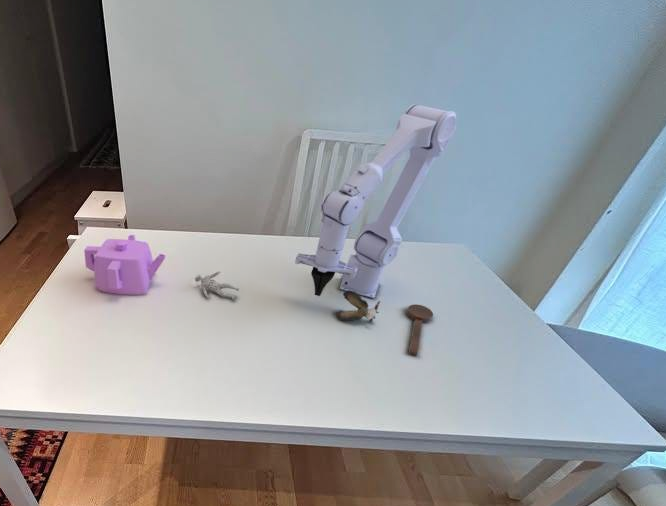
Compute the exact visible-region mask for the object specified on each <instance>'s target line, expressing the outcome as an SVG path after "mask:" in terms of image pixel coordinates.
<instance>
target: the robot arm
mask: <svg viewBox="0 0 666 506" xmlns="http://www.w3.org/2000/svg"><path fill="white" fill-rule="evenodd" d="M456 129H457V114H456V112H455V111H452V110H444V109H439V108H434V107H429V106H425V105H421V104H419V103H413V104H410V106H408V107H407V108H406V110H404V112H403V114H402V115H401V116H400V117H399V119H398V121H397V125H396V130H395V132H394V133H393V134H392V135H391V137H390V138H389V139H388V141H387V142H386V143H385V144H384V146H383V147H382V148H381V149H380V150H379V152H378V153H377V154H376V156H375V157H374V158H373V159H372V161H371V162H369V163H363V164H361V165H360V166H359V167H358V168H357V170H355V172H354V173H353V174H352V175H351V176H350V177H349V178H348V179H347V180H346V181H345V182H344V183H343V185H342V186H341V187H340V188H339V189H336V190H335V191H334V190H333V191H330V192H329V193H327V195H326V196H325V197H324V199H323V201H322V203H321V204H320V212H321V216H322V217H321V223H322V225H321V231H320V235H319V239H318V243H317V248H316V252H315V254H307V253H300V252H298V253H297V255H296V256H295V260H294V264H296V265H300V264H301V265H306V266H309V267H312V269H311V271H310V272H311V273H310V275H311V277H312V280H313V285H314V296H317V297H321V295H322V293H323V290H324V289H325V287H326V286H327V285H328V284H329V283H330V282H331V281H332V279H333V278H334V276H335V274H336V273H337V274H340V275H342V276H341V283H340V286H339V290H342V291H344V292H345V291H348V290H350V291H354V292H356V293H357V294H358V295H359V296H363V297H367V298H371V299H374V298H376V294H377V291H378V288H379V281H380V279H381V276H382V273H383V271H384V268H385V266H387V265H390V264H391V263H392V262H393V261H394V260H395V259H396V257H397V255H398V253H399V248H400V246H401V244H402V241H403V238H402V236H401V234H400V231H399V229H398V227H399V226H400V223H401V222H402V220H403V218H404V216H405V214H406V212H407V211H408V208H409V207H410V205H411V203H412V201H413V200H414V198H415V196H416V194H417V192H418V191H419V189H420V187H421V184H422V183H423V181H424V179H425V177H426V176H427V174H428V172H429V170H430V168H431V167H432V165H433V163H434V161H435V159H436V158H437V157H441V156H442V154H443V153H444V151H445V150H446V148H447V146H448V145H449V142H450V140H451V138H452V137H453V135H454V133H455V131H456ZM407 152H409V158H408V159H407V162H406V163H405V165H404V167H403V168H402V171H401V173H400V175H399V177H398V179H397V181H396V183H395V184H394V186H393V189H392V190H391V192H390V194H389V196H388V199H386V202H385V204H384V206H383V208H382V210H381V212H380V214H379V216H378V217H377V220H376V221H372V222H369V223H366V224H365V225H364V227H363V229H362V231H360V233H359V234H358V235H357V237H356V238H355V240H354V243H353V250H354V252H355V254H350V255H349V258H348V261H347V263H346V262H343V261H341V258H342V257H341V256H342V253H343V251H344V250H343V249H344V246H345V243H346V240H347V239H346V238H347V236H348V232H349V228H350V225H351V224H352V223H353V222H354V221H355V220H356V219H357V218H358V216H359V215H360V213H361V210H362V208H363V207H364V205H365V201H366V200H367V199H368V197H370V196H371V195H372V193H373V192H374V191H375V190H376V189H377V188H378V187H379V186H380V185H381V184H382V183H383V175H384V173H385V172H386V171H387V170H389V169H390V168H391V167H392V166H393V165H394V164H395V163H396V162H397V161H399V159H400V158H402V157H403V156H404V155H406V153H407Z"/></svg>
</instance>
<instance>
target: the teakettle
mask: <svg viewBox="0 0 666 506" xmlns="http://www.w3.org/2000/svg"><path fill="white" fill-rule="evenodd" d="M127 237H128V238H127V239H124V238H123V239H121V238H107V239H105V240H104V242H103V243H102V244H101V246H93V245H87V246H86V247H85V248H84V252H83V253H84V261H85V268H86V269H88V270H90V271H92V272H94V282H95V285H96V287H97V289H98V291H100V292H103V293H110V294H115V295H125V296H126V295H127V296H129V295H130V296H142V295H145V294H146V293H147V291H148V289H149V287H150V285H151V282H152V280H153V277H154V276H155V274H156V272H157V271H158V270H159V268H160V266H161V265H162V264H163V262H164V261H165V259H166V257H167V255H166V254H164V253H159V254H158V255H157V257H156V258H155V259H154V258H153V254H152V252H151V249H150V246H149V243H148V242H146V241H141V240H136V235H135V234H129V235H128V236H127Z"/></svg>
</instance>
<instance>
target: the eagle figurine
mask: <svg viewBox="0 0 666 506" xmlns="http://www.w3.org/2000/svg"><path fill="white" fill-rule="evenodd" d="M342 295H343V298H344V299H345V300H346V301H347V302H348V303H349V304H350V305H352V306H353V307H355V308H356V309H357V310H338V311H337V312H335V316H336V317H337V319H339V320H341V321H346V320H347V321H349V320H350V321H356V322H357V321H361V320H362V318H363V317H365V318H366V320H367V321H369V322H370V323H373V319H376V315H377V314H379V313H380V312H379V311H378V308H379V305H380V303H381V301H380V300H379V301H377V303H376V304H375V305H374V307H372V308H369V303H368V302H367V301H366V300H365V299H363V298H362V297H361V295H359V294H357V293H356V292H354V291H350V290H348V291H345V290H344V292H342Z"/></svg>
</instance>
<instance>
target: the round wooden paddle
mask: <svg viewBox="0 0 666 506" xmlns="http://www.w3.org/2000/svg"><path fill="white" fill-rule="evenodd" d="M405 313H406V315H407V317H408V318H409V319H411V320H413V326H412V332H411V337H410V338H411V339H410V345H409V350H408V355H411V356H414V357H417V356H418V354H419V353H418V352H419V345H420V340H421V339H420V338H421V331H422V326H423V325H422V324H423V323H424V324H425V323H429V322H431V320H432V318H433V316H434V313H433V311H432V309H430V308H429V307H427V306H425V305H422V304H415V303H414V304H410V305H409V306H408V307H407V310H406V312H405Z"/></svg>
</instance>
